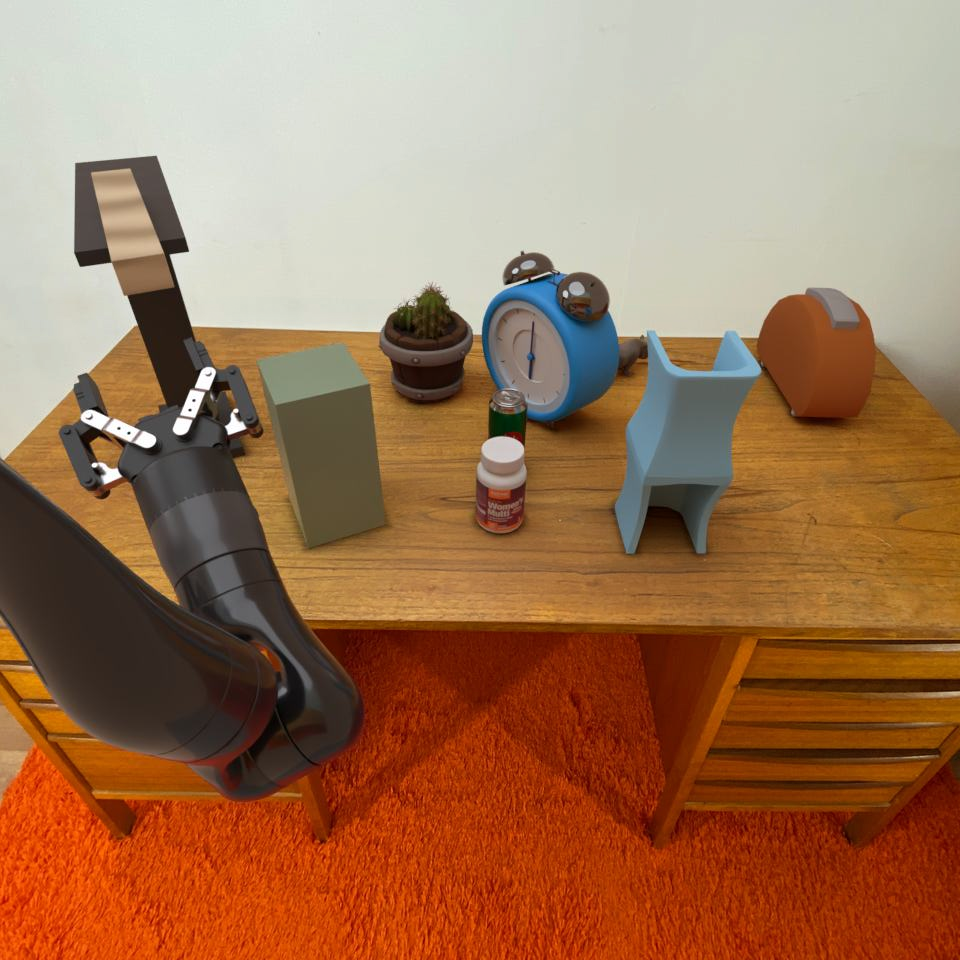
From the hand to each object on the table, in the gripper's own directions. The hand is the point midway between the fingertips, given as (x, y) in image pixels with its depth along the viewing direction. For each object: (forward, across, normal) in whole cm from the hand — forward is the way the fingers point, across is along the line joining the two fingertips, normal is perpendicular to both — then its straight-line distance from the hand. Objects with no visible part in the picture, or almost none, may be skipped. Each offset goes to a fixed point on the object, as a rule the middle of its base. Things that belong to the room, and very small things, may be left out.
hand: (139, 361), depth 54 cm
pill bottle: (-18, -29, +30) cm, 45 cm away
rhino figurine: (0, -66, +44) cm, 79 cm away
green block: (-7, -11, +32) cm, 34 cm away
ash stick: (+17, -3, +3) cm, 18 cm away
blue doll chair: (-28, -46, +28) cm, 61 cm away
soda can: (-10, -35, +34) cm, 50 cm away
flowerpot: (+12, -34, +44) cm, 56 cm away
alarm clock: (-2, -48, +40) cm, 62 cm away
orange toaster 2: (-18, -88, +40) cm, 99 cm away
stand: (+17, +1, +40) cm, 44 cm away
